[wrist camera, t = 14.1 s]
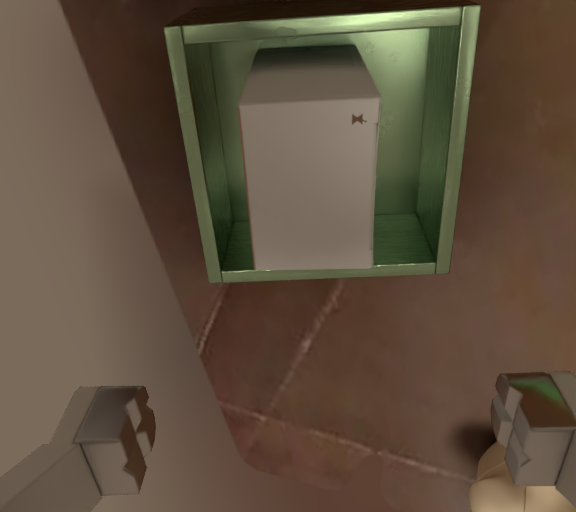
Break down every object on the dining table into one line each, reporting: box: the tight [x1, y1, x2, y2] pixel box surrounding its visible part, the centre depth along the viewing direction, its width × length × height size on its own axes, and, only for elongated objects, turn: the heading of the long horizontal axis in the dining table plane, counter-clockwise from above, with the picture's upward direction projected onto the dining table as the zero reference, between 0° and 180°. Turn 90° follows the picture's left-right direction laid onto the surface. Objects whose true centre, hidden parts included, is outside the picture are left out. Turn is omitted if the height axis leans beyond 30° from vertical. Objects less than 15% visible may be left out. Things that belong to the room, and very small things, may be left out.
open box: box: [164, 0, 481, 283], centre depth 28 cm, size 14×14×7 cm
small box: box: [237, 45, 382, 270], centre depth 26 cm, size 8×6×10 cm
